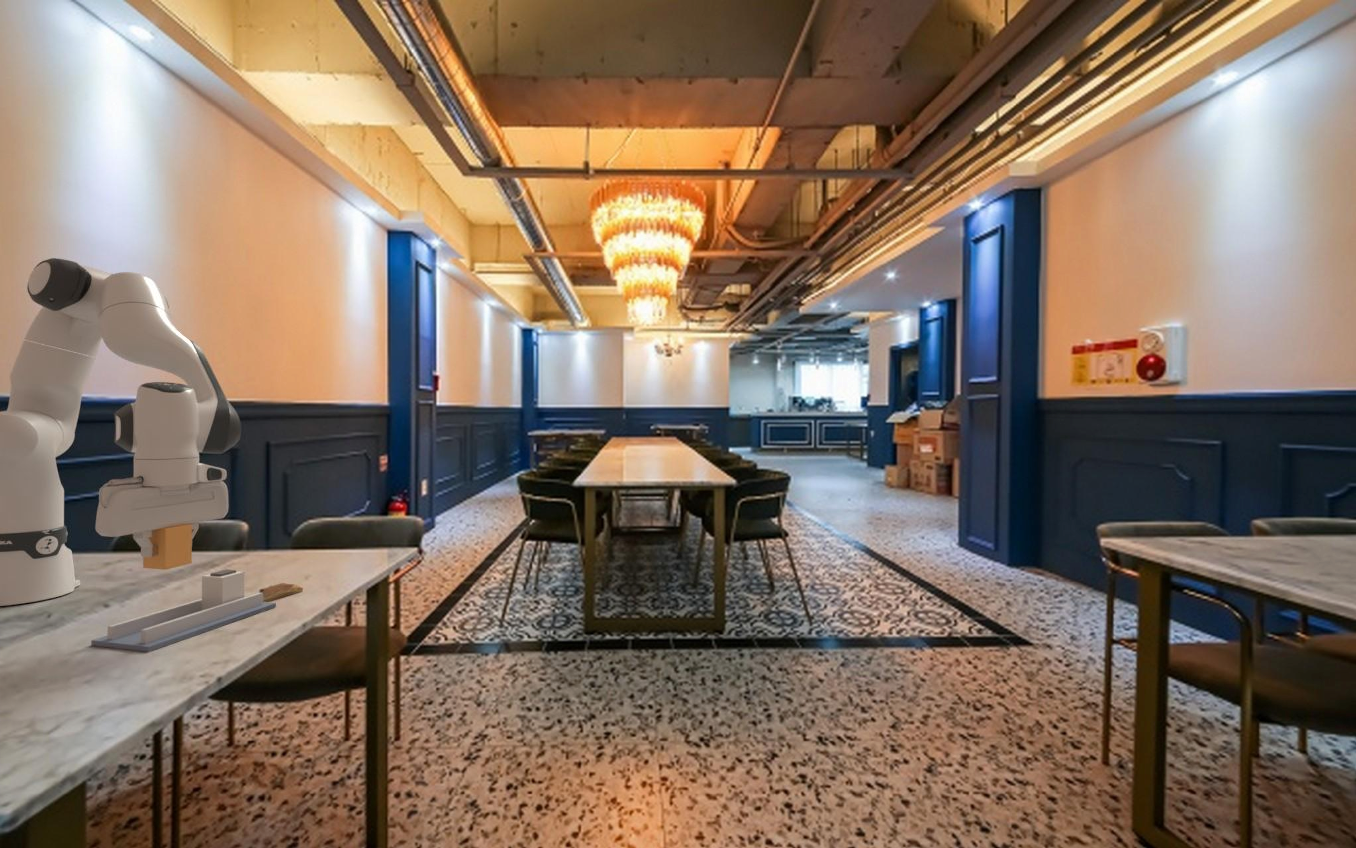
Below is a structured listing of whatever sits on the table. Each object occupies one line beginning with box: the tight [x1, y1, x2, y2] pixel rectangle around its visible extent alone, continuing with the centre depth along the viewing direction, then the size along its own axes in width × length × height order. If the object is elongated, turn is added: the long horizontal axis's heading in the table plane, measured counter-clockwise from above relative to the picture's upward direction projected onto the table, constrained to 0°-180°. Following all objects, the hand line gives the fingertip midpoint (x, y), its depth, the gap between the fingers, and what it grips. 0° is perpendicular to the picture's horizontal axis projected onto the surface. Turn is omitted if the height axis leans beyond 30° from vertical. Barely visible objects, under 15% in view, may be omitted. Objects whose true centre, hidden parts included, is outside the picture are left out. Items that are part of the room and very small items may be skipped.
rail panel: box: [90, 569, 277, 653], centre depth 110 cm, size 12×24×8 cm, turn 168°
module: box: [142, 524, 193, 570], centre depth 106 cm, size 5×4×7 cm
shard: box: [258, 582, 304, 603], centre depth 128 cm, size 11×8×2 cm
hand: (167, 552), depth 106 cm, fingers closed on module, 4 cm apart
